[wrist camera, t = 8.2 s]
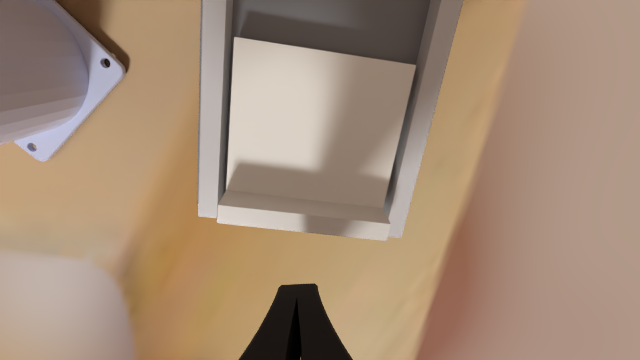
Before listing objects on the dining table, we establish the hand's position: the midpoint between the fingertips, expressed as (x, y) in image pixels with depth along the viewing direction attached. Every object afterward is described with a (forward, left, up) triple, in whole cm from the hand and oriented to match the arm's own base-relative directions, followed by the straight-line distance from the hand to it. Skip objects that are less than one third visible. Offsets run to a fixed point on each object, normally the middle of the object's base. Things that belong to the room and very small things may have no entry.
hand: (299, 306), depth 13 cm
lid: (-4, +4, -4) cm, 7 cm away
